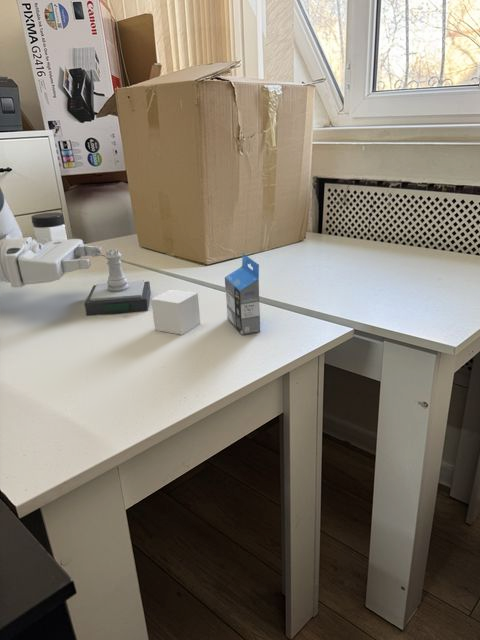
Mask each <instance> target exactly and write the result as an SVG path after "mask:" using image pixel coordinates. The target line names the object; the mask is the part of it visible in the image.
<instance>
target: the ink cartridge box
mask: <svg viewBox="0 0 480 640" xmlns="http://www.w3.org/2000/svg"><path fill="white" fill-rule="evenodd" d="M241 257H242V263H241V266H240V267H239V268H237V269H236V270H233V271H232V272H231V273H228V275H226V276H225V277H224V287H225V301H226V302H225V303H226V318H227V320H228V321H229V322H230V323H231V324H232V325H233V326H234V328H235V329H236V330H237V331H238V332H239V333H240V334H241V335H242V336H245V335H250V334H256V333H260V332H261V312H260V311H261V308H260V264H259V263H257V262H256V261H255V260H253V259H251V258H250V257H249V256H248V255H246V254H245V253H243V252H242V256H241ZM248 265H250V267H251V268H250V267H249V266H248Z"/></svg>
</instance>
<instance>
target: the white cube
mask: <svg viewBox="0 0 480 640" xmlns="http://www.w3.org/2000/svg"><path fill="white" fill-rule="evenodd" d="M150 301H151V311H152V316H153V318H152V319H153V324H154V325H153V326H154V331H158V332H164V333H170V334H173V335H174V334H175V335H180V336H183V335H184V334H186V333H187V332H189V331H191V330H192V329H194V328H195V327H197V326H199V325H200V324H201V315H200V314H201V313H200V302H199V293H198V292H195V291H194V292H193V291H186V290H179V289H171V288H170V289H168V290H166V291H164V292H162V293H160V294H158V295H156V296H154V297H153V298H150Z"/></svg>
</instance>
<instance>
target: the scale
mask: <svg viewBox="0 0 480 640" xmlns="http://www.w3.org/2000/svg"><path fill="white" fill-rule="evenodd" d="M127 284H128V285H129V287H128V288H127V289H126V290H124V291H118V292H113V291H110V290H108V289H107V287H108V285H107V282H101V283H96V284H94V285H93V286H92V287H91V289H90V292H89V293H88V296H87V298H86V300H85V302H84V309H85V314H86V316H96V315H97V316H98V315H108V314H121V313H122V314H123V313H132V312H133V313H134V312H146V311H147V312H148V311H149V305H150V301H151V294H152V293H151V292H152V291H151V283H150V281H149V280H147V281H145V280H128V283H127Z"/></svg>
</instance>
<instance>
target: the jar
mask: <svg viewBox="0 0 480 640" xmlns="http://www.w3.org/2000/svg"><path fill="white" fill-rule="evenodd" d="M31 224H32V227H33V232H34V236H35V240H36V242H37V243H41V244H42V245H44V244H45V243H47V242H50V241H56V240H68V235H67V229H66V225H65V218H64V214H63V213H62V212H42V213H37V214H34V215H33V214H32V215H31Z"/></svg>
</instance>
